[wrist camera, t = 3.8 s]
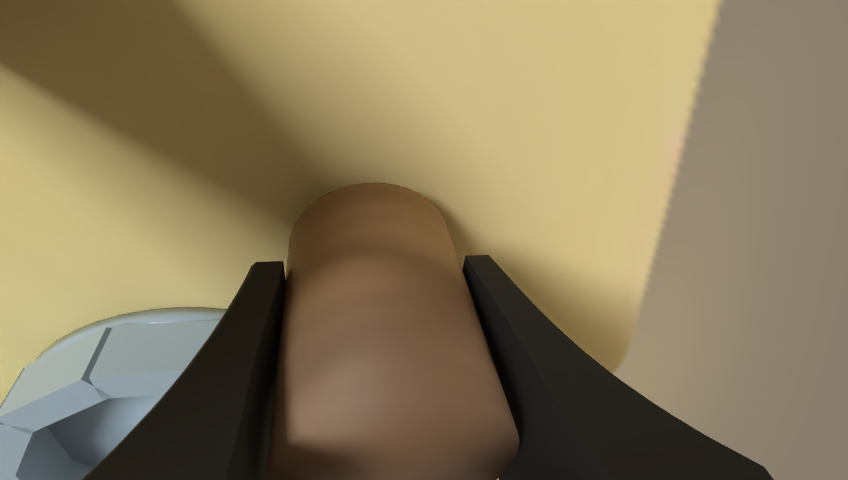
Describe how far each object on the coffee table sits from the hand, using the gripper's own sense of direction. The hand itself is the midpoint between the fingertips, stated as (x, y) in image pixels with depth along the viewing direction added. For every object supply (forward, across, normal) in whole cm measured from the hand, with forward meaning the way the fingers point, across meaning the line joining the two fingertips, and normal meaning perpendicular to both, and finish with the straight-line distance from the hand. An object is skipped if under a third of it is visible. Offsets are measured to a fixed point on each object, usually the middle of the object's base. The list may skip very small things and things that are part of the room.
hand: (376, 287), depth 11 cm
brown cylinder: (+2, 0, 0) cm, 2 cm away
